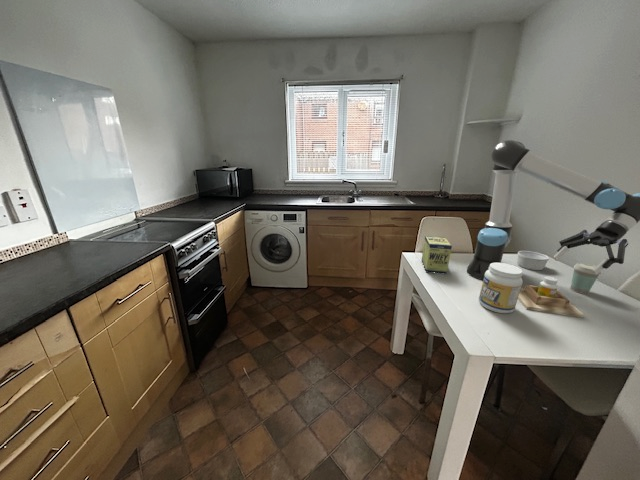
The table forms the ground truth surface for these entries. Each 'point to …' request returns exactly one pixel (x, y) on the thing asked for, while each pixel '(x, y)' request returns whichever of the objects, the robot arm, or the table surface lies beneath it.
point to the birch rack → (547, 302)
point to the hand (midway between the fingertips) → (573, 265)
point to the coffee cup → (583, 277)
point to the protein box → (436, 254)
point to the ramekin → (532, 260)
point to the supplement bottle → (548, 287)
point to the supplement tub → (501, 287)
